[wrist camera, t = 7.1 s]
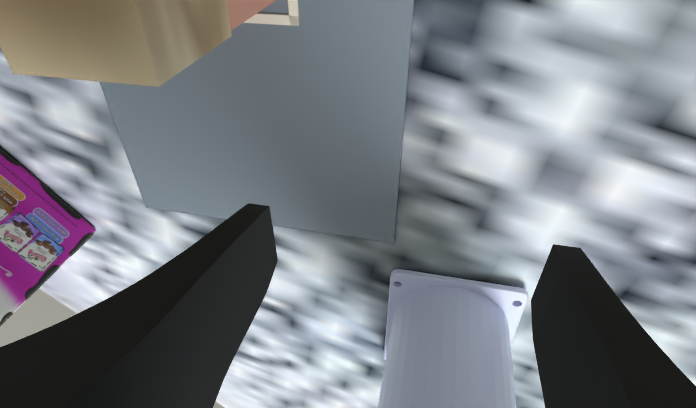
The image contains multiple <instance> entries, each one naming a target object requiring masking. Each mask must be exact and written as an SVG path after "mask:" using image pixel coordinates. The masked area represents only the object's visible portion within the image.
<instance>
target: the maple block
mask: <svg viewBox="0 0 696 408" xmlns="http://www.w3.org/2000/svg"><path fill="white" fill-rule="evenodd" d="M231 36H232V34H231V28H230V22H229V16H228V9H227V3H226V0H0V47H1V49H2V52H3V54H4V56H5V58H6V60H7V62H8V64H9V66H10V68H11V70H12V72H13V74H23V75H34V76H45V77H56V78H67V79H78V80H89V81H100V82H111V83H122V84H133V85H144V86H155V87H159V86H161V85H162V84H164V83H165V82H167V81H168V80H169V79H171V78H172V77H174V76H175V75H177V74H178V73H179V72H181V71H182V70H184V69H185V68H187V67H188V66H190V65H191V64H192V63H194V62H195V61H197V60H198V59H200V58H201V57H202V56H204V55H205V54H207V53H208V52H210V51H211V50H212V49H214V48H215V47H217V46H218V45H220V44H221V43H223V42H224V41H225V40H227V39H228V38H230V37H231Z"/></svg>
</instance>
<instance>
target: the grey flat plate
mask: <svg viewBox="0 0 696 408" xmlns="http://www.w3.org/2000/svg"><path fill="white" fill-rule="evenodd" d="M413 9H414V0H276V1H275V2H273V3H272V4H270V5H269V6H267V7H266V8H264V9H263V10H261V11H260V12H258V13H257V14H255V15H254V16H252V17H251V18H249V19H248V20H246V21H245V22H243V23H242V24H240V25H239V26H237V27H236V28H234V29H233V30H232V31H231V34H232V36H231V37H230V38H228V39H227V40H225V41H224V42H223V43H221V44H220V45H218V46H217V47H215V48H214V49H212V50H211V51H210V52H208V53H207V54H205V55H204V56H202V57H201V58H200V59H198V60H197V61H195V62H194V63H192V64H191V65H190V66H188V67H187V68H185V69H184V70H182V71H181V72H179V73H178V74H177V75H175V76H174V77H172V78H171V79H169V80H168V81H167V82H165V83H164V84H162V85H161V86H159V87H155V86H144V85H133V84H122V83H111V82H100V84H101V87H102V90H103V92H104V95H105V98H106V100H107V103H108V106H109V108H110V111H111V114H112V117H113V119H114V122H115V125H116V127H117V130H118V133H119V135H120V138H121V141H122V144H123V146H124V149H125V152H126V154H127V157H128V160H129V162H130V165H131V168H132V171H133V173H134V176H135V179H136V181H137V184H138V187H139V189H140V192H141V195H142V198H143V200H144V203H145V206H146V207H147V208H154V209H161V210H168V211H175V212H182V213H189V214H196V215H202V216H209V217H216V218H223V219H228V218H229V217H230V216H232V215H233V214H234V213H236V212H237V211H238V210H240V209H241V208H242V207H244V206H245V205H247V204H248V203H251V204H258V205H266V206H270V213H271V219H272V226H279V227H286V228H293V229H300V230H307V231H313V232H320V233H327V234H334V235H341V236H348V237H355V238H362V239H369V240H376V241H383V242H390V243H394V235H395V223H396V212H397V200H398V188H399V176H400V164H401V152H402V140H403V128H404V116H405V104H406V92H407V80H408V68H409V56H410V44H411V32H412V21H413Z"/></svg>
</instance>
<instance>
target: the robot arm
mask: <svg viewBox="0 0 696 408" xmlns="http://www.w3.org/2000/svg"><path fill="white" fill-rule="evenodd" d="M277 261H278V260H277V253H276V246H275V239H274V233H273V226H272V219H271V213H270V206H266V205H258V204H251V203H248V204H247V205H245V206H244V207H242V208H241V209H240V210H238V211H237V212H236V213H234V214H233V215H232V216H230V217H229V218H228V219H227V220H225V221H224V222H223V223H221V224H220V225H219V226H218V227H216V228H215V229H214V230H212V231H211V232H210V233H208V234H207V235H206V236H204V237H203V238H202V239H200V240H199V241H197V242H196V243H195V244H193V245H192V246H191V247H189V248H188V249H187V250H185V251H184V252H182V253H181V254H179V255H178V256H176V257H175V258H173V259H172V260H170V261H169V262H167V263H166V264H164V265H163V266H162V267H160V268H159V269H157V270H156V271H154V272H153V273H151V274H149V275H148V276H146V277H145V278H143V279H141V280H140V281H138V282H136V283H135V284H133V285H131V286H129V287H128V288H126V289H124V290H122V291H121V292H119V293H117V294H115V295H114V296H112V297H110V298H108V299H106V300H104V301H102V302H100V303H98V304H96V305H94V306H92V307H90V308H88V309H86V310H84V311H82V312H80V313H78V314H76V315H74V316H72V317H70V318H68V319H66V320H64V321H62V322H60V323H58V324H55V325H53V326H51V327H49V328H46V329H44V330H42V331H39V332H37V333H35V334H32V335H30V336H27V337H25V338H22V339H20V340H18V341H15V342H13V343H10V344H8V345H5V346H3V347H0V408H213V406H214V403H215V400H216V398H217V395H218V393H219V390H220V387H221V385H222V382H223V380H224V377H225V375H226V373H227V371H228V369H229V366H230V364H231V362H232V360H233V358H234V356H235V354H236V352H237V350H238V348H239V346H240V344H241V342H242V340H243V338H244V336H245V335H246V333H247V331H248V329H249V327H250V325H251V323H252V321H253V319H254V317H255V315H256V313H257V311H258V309H259V307H260V305H261V303H262V301H263V299H264V296H265V294H266V292H267V289H268V287H269V284H270V281H271V278H272V276H273V273H274V270H275V267H276V264H277ZM398 282H400V283H398ZM527 301H528V292H527V291H526V290H525V289H523V288H519V287H513V286H506V285H500V284H493V283H487V282H480V281H474V280H467V279H461V278H454V277H448V276H441V275H435V274H428V273H422V272H415V271H409V270H402V269H395V270H393V271H392V272H391V276H390V287H389V299H388V311H387V324H386V336H385V348H384V359H385V360H386V362H385V368H384V374H383V380H382V386H381V392H380V398H379V404H378V408H516V399H515V388H514V378H513V367H512V356H511V342H512V340H513V337H514V334H515V332H516V329H517V327H518V324H519V321H520V319H521V316H522V314H523V311H524V308H525V306H526V303H527ZM531 310H532V331H533V342H534V348H535V353H536V359H537V365H538V370H539V376H540V381H541V386H542V392H543V397H544V403H545V408H696V386H695V385H694V384H693V383H692V382H691V381H690V380H689V379H688V378H687V377H686V376H685V375H684V374H683V373H682V371H681V370H680V369H679V368H678V367H677V366H676V365H675V364H674V363H673V362H672V361H671V359H670V358H669V357H668V356H667V355H666V354H665V353H664V352H663V351H662V350H661V348H660V347H659V346H658V345H657V344H656V343H655V342H654V341H653V339H652V338H651V337H650V336H649V335H648V334H647V332H646V331H645V330H644V329H643V328H642V327H641V325H640V324H639V323H638V322H637V320H636V319H635V318H634V317H633V316H632V314H631V313H630V312H629V311H628V309H627V308H626V307H625V306H624V304H623V303H622V302H621V301H620V299H619V298H618V297H617V295H616V294H615V293H614V292H613V290H612V289H611V288H610V286H609V285H608V284H607V282H606V281H605V280H604V278H603V277H602V276H601V274H600V273H599V272H598V271H597V269H596V268H595V267H594V265H593V264H592V263H591V261H590V260H589V259H588V257H587V256H586V255H585V253H584V252H583V251H582V249H581V248H576V247H569V246H561V245H554V244H553V246H552V249H551V251H550V254H549V256H548V259H547V261H546V264H545V266H544V269H543V271H542V274H541V277H540V279H539V282H538V284H537V287H536V289H535V292H534V294H533V297H532V299H531Z"/></svg>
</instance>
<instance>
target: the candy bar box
mask: <svg viewBox="0 0 696 408" xmlns="http://www.w3.org/2000/svg"><path fill="white" fill-rule="evenodd" d="M95 231H96V230H95V228H94V227H93V226H92V225H91V224H90V223H89V222H87V221H86V220H85V219H84V218H83V217H82V216H80V215H79V214H78V213H77V212H76V211H75V210H73V209H72V208H71V207H70V206H69V205H68V204H66V203H65V202H64V201H63V200H62V199H60V198H59V197H58V196H57V195H56V194H55V193H53V192H52V191H51V190H50V189H49V188H47V187H46V186H45V185H44V184H43V183H41V182H40V181H39V180H38V179H37V178H36V177H34V176H33V175H32V174H31V173H30V172H28V171H27V170H26V169H25V168H24V167H22V166H21V165H20V164H19V163H18V162H17V161H15V160H14V159H13V158H12V157H11V156H9V155H8V154H7V153H6V152H5V151H3V150H2V149H1V148H0V326H1V325H2V324H3V323H4V322H5V321H6V320H7V319H8V318H9V317H10V316H11V315H12V314H13V313H14V312H15V311H16V310H17V309H18V308H19V307H20V306H21V305H22V304H23V303H24V302H25V301H26V300H27V299H28V298H29V297H30V296H31V295H32V294H33V293H34V292H35V291H36V290H37V289H38V288H40V286H41V285H42V284H43V283H44V282H45V281H47V280H48V279H49V278H50V277H51V276H52V275H53V274H54V273H55V272H56V271H57V270H58V269H59V268H60V267H61V266H62V265H63V264H64V263H65V262H66V261H67V260H68V259H69V258H70V257H71V256H72V255H73V254H74V253H75V252H76V251H77V250H78V249H79V248H80V247H81V246H82V245H83V244H84V243H85V242H86V241H87V240H88V239H89V238H90V237H91V236H92V235H93V234H94V233H95Z"/></svg>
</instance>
